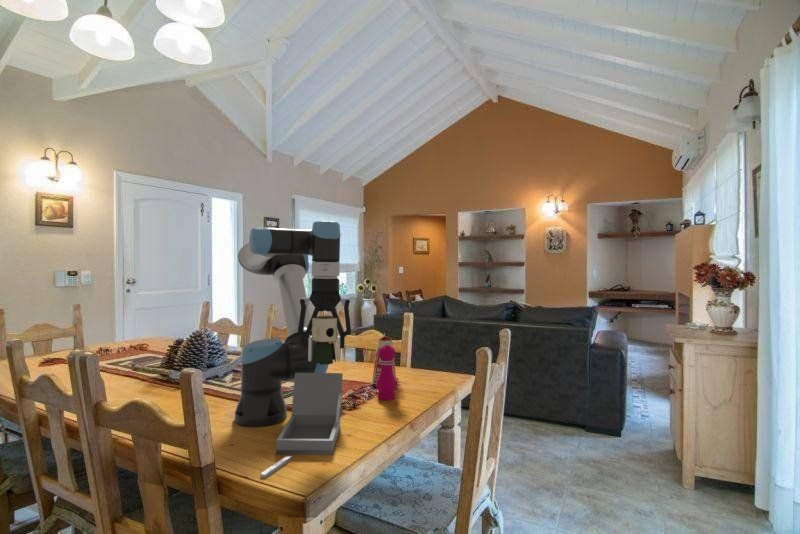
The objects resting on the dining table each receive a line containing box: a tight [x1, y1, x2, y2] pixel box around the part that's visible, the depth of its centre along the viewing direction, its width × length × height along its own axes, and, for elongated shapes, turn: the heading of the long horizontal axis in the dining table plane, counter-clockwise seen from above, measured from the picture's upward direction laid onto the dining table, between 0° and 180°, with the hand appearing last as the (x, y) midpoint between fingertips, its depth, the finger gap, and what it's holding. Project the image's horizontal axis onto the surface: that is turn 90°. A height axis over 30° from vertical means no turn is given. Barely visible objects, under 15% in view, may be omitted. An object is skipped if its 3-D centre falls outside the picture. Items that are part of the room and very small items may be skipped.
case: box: [275, 372, 343, 455], centre depth 120 cm, size 14×22×15 cm, turn 1°
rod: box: [260, 454, 293, 479], centre depth 102 cm, size 10×1×1 cm, turn 158°
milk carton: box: [371, 332, 397, 385], centre depth 173 cm, size 9×9×20 cm
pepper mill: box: [375, 341, 397, 401], centre depth 154 cm, size 7×7×20 cm
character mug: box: [312, 315, 339, 365], centre depth 121 cm, size 11×7×13 cm, turn 156°
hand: (324, 359), depth 121 cm, fingers closed on character mug, 7 cm apart
